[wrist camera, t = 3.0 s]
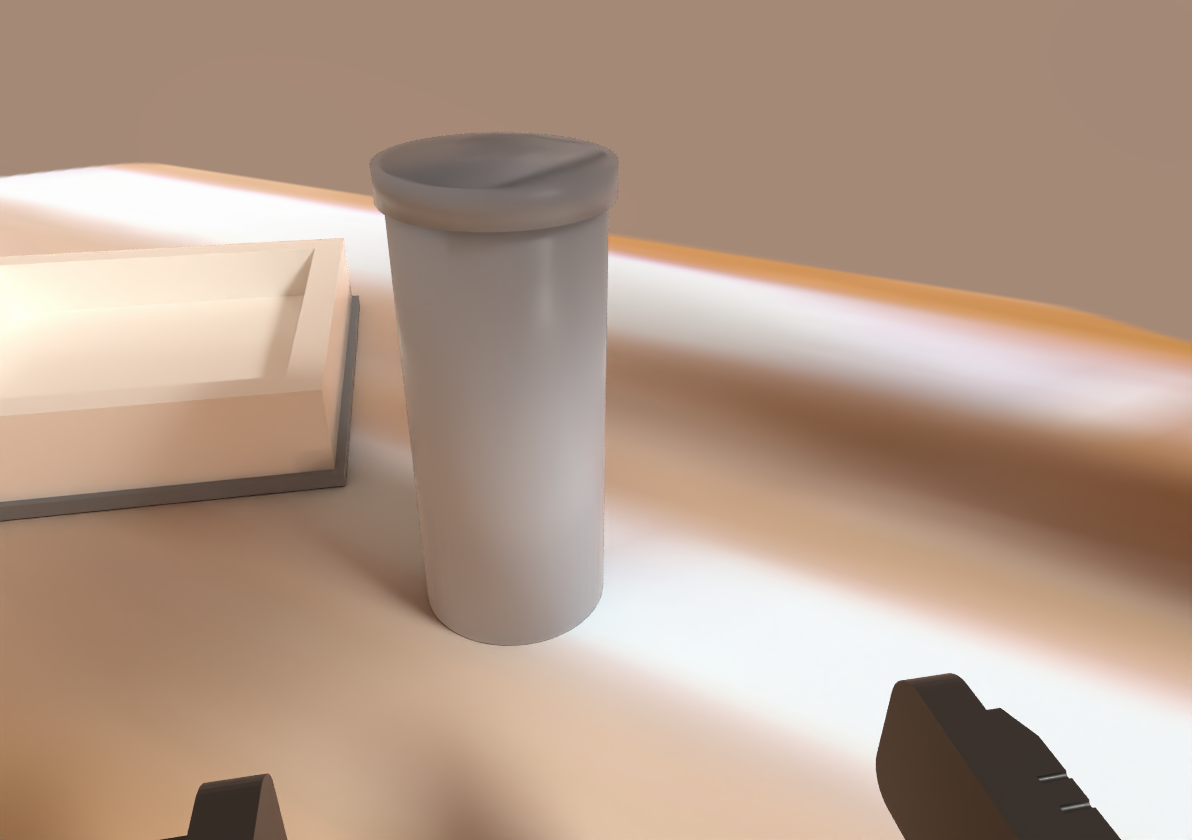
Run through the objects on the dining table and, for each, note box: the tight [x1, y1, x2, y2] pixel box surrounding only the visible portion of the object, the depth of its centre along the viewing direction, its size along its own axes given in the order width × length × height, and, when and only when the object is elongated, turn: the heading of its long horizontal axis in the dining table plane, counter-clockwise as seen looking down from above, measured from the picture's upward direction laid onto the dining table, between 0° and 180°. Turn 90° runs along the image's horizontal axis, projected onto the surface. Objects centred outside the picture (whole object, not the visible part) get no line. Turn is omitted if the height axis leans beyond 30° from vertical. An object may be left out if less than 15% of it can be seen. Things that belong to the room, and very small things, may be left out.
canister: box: [370, 132, 618, 645], centre depth 22 cm, size 5×5×12 cm
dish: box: [0, 238, 352, 502], centre depth 34 cm, size 15×15×3 cm
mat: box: [0, 296, 360, 521], centre depth 35 cm, size 16×16×1 cm
